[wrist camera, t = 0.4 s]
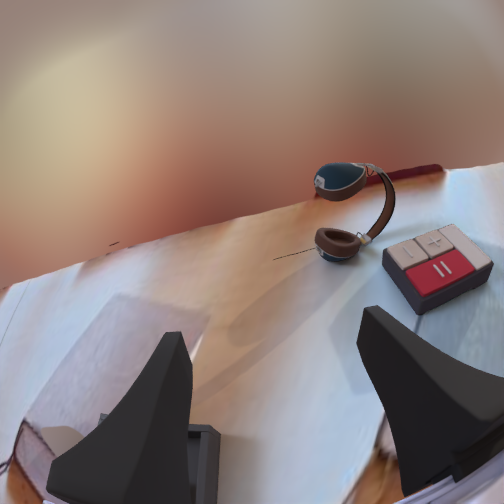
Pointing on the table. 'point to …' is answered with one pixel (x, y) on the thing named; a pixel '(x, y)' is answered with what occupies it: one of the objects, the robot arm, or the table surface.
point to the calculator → (436, 267)
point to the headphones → (338, 189)
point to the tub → (201, 462)
